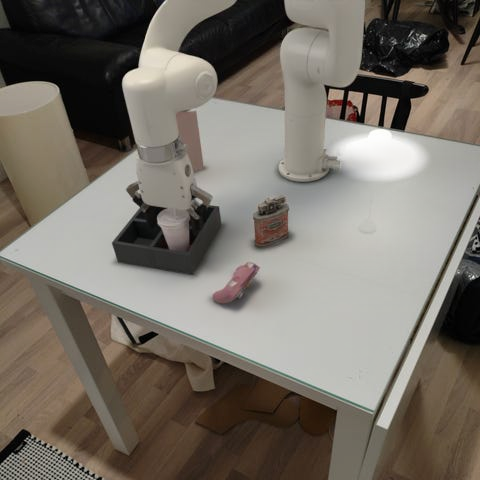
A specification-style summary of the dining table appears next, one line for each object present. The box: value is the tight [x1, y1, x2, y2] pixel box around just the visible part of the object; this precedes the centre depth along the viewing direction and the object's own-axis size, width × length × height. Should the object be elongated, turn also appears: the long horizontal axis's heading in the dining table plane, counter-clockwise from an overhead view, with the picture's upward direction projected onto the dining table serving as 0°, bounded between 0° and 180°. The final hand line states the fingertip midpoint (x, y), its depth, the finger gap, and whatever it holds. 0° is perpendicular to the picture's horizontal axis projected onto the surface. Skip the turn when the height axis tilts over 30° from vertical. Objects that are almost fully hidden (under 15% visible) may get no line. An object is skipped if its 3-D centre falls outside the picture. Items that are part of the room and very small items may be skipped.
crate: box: [111, 203, 223, 276], centre depth 103 cm, size 17×17×5 cm
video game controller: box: [212, 261, 261, 304], centre depth 91 cm, size 10×5×7 cm, turn 148°
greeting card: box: [176, 110, 205, 173], centre depth 119 cm, size 11×7×15 cm, turn 92°
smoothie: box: [157, 208, 190, 252], centre depth 95 cm, size 6×6×14 cm
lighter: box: [252, 194, 290, 249], centre depth 99 cm, size 8×3×10 cm, turn 118°
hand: (175, 228), depth 96 cm, fingers open, 9 cm apart
